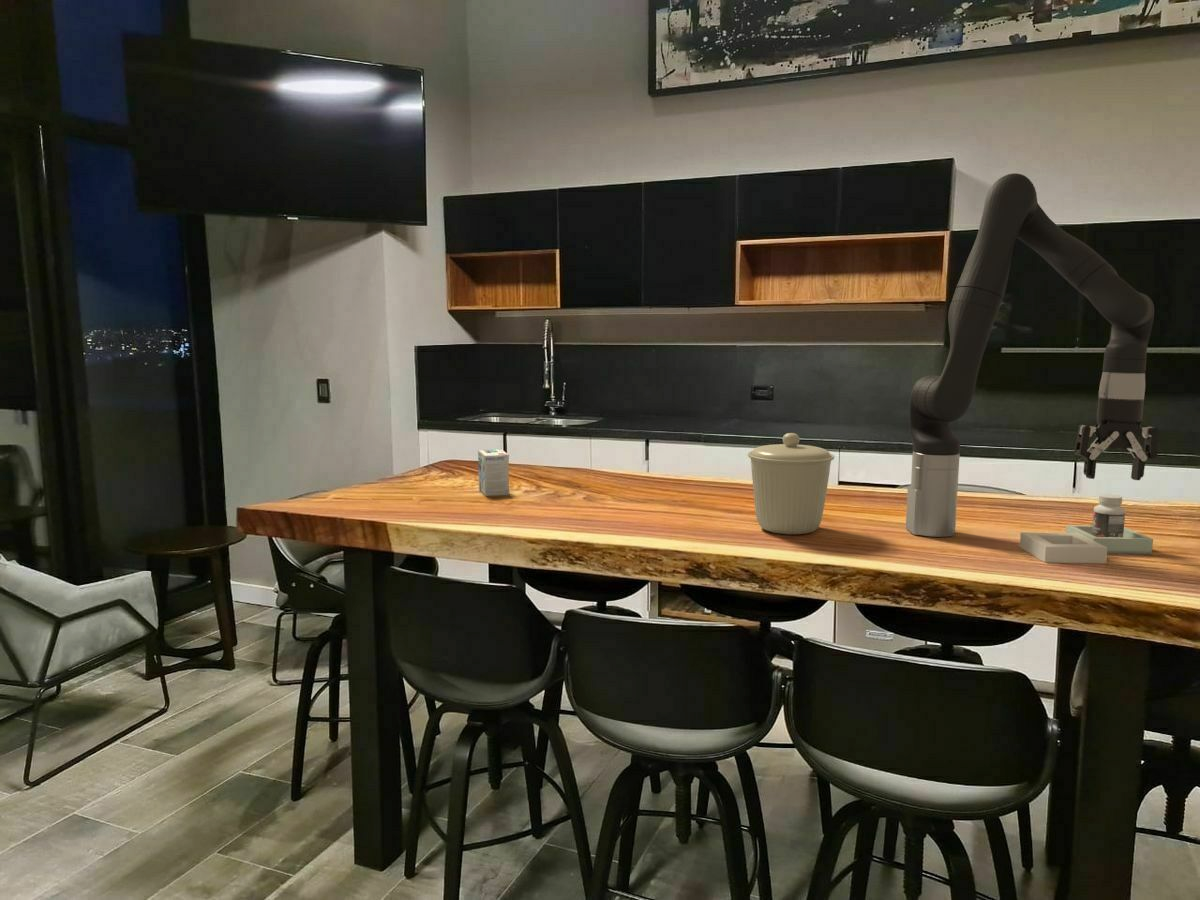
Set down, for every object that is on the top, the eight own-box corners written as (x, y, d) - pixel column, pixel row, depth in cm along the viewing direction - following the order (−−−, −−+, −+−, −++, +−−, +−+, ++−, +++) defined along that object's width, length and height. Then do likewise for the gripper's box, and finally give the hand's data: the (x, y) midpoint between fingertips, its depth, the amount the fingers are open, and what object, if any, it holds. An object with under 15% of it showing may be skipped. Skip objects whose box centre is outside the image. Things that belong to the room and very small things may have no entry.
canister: (730, 524, 189) (732, 430, 186) (800, 517, 195) (803, 426, 192) (775, 543, 172) (777, 440, 169) (849, 535, 178) (853, 436, 175)
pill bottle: (1084, 541, 171) (1088, 493, 169) (1110, 540, 171) (1114, 493, 170) (1102, 547, 166) (1107, 498, 164) (1128, 547, 166) (1133, 498, 165)
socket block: (1044, 562, 157) (1045, 546, 157) (1019, 547, 168) (1020, 532, 168) (1106, 563, 157) (1107, 547, 156) (1076, 548, 167) (1078, 533, 167)
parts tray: (1092, 553, 163) (1093, 538, 163) (1065, 539, 174) (1066, 525, 174) (1151, 554, 163) (1153, 539, 162) (1120, 540, 174) (1122, 525, 173)
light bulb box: (478, 489, 231) (477, 449, 229) (502, 487, 233) (501, 448, 231) (484, 496, 221) (483, 455, 219) (510, 494, 223) (509, 454, 221)
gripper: (1092, 396, 161) (1084, 481, 163) (1171, 398, 159) (1162, 483, 162) (1073, 394, 168) (1066, 474, 170) (1149, 395, 167) (1140, 476, 169)
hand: (1112, 478), depth 166 cm, fingers open, 8 cm apart
